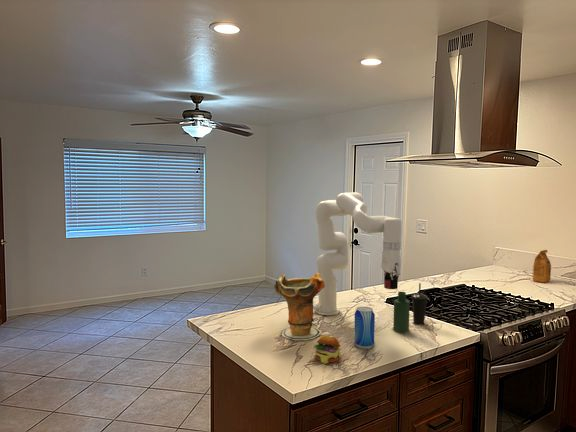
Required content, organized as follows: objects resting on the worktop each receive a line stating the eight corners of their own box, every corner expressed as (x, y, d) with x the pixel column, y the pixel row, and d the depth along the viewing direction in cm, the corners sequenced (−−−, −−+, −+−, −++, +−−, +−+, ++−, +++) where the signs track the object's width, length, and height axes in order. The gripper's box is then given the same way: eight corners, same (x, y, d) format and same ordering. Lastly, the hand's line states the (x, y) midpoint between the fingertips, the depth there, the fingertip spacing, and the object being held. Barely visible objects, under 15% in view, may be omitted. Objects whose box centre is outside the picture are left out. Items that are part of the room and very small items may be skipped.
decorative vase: (275, 325, 200) (275, 268, 198) (323, 326, 199) (323, 268, 197) (272, 342, 179) (272, 278, 177) (325, 342, 179) (326, 279, 176)
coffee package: (553, 281, 289) (554, 250, 287) (545, 284, 281) (547, 252, 280) (537, 278, 297) (539, 248, 295) (530, 281, 289) (531, 250, 287)
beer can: (352, 342, 179) (352, 306, 178) (371, 341, 180) (371, 305, 179) (356, 349, 171) (357, 312, 170) (376, 349, 172) (377, 311, 170)
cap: (387, 289, 179) (387, 282, 178) (382, 286, 184) (382, 279, 184) (399, 289, 180) (399, 282, 180) (393, 285, 185) (393, 279, 185)
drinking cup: (418, 326, 198) (419, 286, 197) (407, 322, 205) (408, 282, 203) (430, 324, 202) (431, 284, 200) (418, 319, 208) (419, 280, 207)
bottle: (397, 333, 190) (398, 294, 188) (390, 328, 197) (391, 291, 195) (411, 332, 191) (412, 294, 190) (404, 327, 198) (405, 290, 197)
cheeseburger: (310, 362, 159) (312, 335, 161) (318, 358, 169) (319, 332, 170) (336, 365, 155) (337, 338, 157) (342, 361, 165) (343, 335, 167)
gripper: (376, 243, 188) (374, 282, 190) (392, 249, 171) (391, 292, 173) (391, 242, 189) (390, 281, 191) (409, 249, 173) (407, 291, 174)
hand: (390, 286), depth 182 cm, fingers closed on cap, 5 cm apart
